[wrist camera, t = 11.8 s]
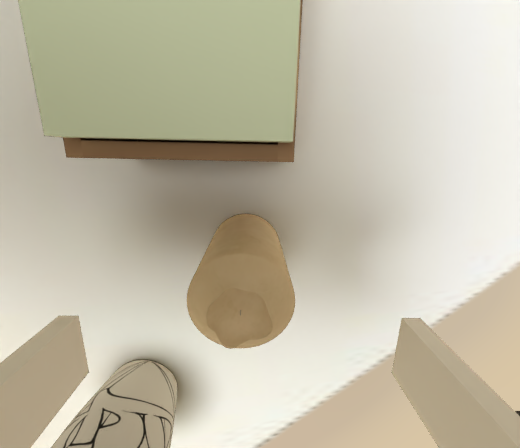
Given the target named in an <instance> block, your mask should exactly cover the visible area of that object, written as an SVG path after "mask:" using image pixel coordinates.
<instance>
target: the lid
mask: <svg viewBox="0 0 520 448" xmlns="http://www.w3.org/2000/svg"><path fill="white" fill-rule="evenodd" d="M300 1H301V0H18V3H19V8H20V13H21V18H22V23H23V28H24V34H25V39H26V44H27V49H28V54H29V59H30V64H31V69H32V75H33V80H34V85H35V90H36V95H37V100H38V105H39V110H40V116H41V121H42V126H43V131H44V136H53V137H65V138H109V139H153V140H197V141H241V142H285V143H290V142H293V133H294V114H295V95H296V76H297V57H298V39H299V20H300Z"/></svg>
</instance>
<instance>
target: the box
mask: <svg viewBox="0 0 520 448" xmlns="http://www.w3.org/2000/svg"><path fill="white" fill-rule="evenodd" d="M301 16H302V0H301V1H300V20H299V39H298V57H297V76H296V95H295V114H294V133H293V142H290V143H285V142H241V141H197V140H153V139H109V138H65V137H63V140H64V146H65V152H66V157H71V158H120V159H169V160H218V161H266V162H294V145H295V127H296V108H297V90H298V72H299V53H300V35H301Z"/></svg>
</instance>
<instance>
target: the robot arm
mask: <svg viewBox="0 0 520 448" xmlns="http://www.w3.org/2000/svg"><path fill="white" fill-rule="evenodd" d="M88 373H89V370H88V365H87V359H86V354H85V349H84V343H83V338H82V333H81V327H80V322H79V316H58V317H57V318H55V319H54V320H53V321H52V322H51V323H49V324H48V325H47V326H46V327H44V328H43V329H42V330H41V331H39V332H38V333H37V334H36V335H35V336H33V337H32V338H31V339H30V340H28V341H27V342H26V343H25V344H23V345H22V346H21V347H20V348H18V349H17V350H16V351H15V352H14V353H12V354H11V355H10V356H9V357H7V358H6V359H5V360H4V361H2V362H1V363H0V448H31V446H32V445H33V444H34V442H35V441H36V440H37V439H38V437H39V436H40V435H41V433H42V432H43V431H44V430H45V428H46V427H47V426H48V424H49V423H50V422H51V420H52V419H53V418H54V417H55V415H56V414H57V413H58V411H59V410H60V409H61V407H62V406H63V405H64V404H65V402H66V401H67V400H68V398H69V397H70V396H71V395H72V393H73V392H74V391H75V389H76V388H77V387H78V385H79V384H80V383H81V382H82V380H83V379H84V378H85V376H86V375H87V374H88ZM392 374H393V376H394V377H395V379H396V380H397V382H398V384H399V385H400V387H401V388H402V390H403V392H404V393H405V395H406V396H407V398H408V399H409V401H410V403H411V404H412V406H413V408H414V409H415V410H416V412H417V414H418V415H419V417H420V419H421V420H422V422H423V423H424V425H425V427H426V428H427V430H428V431H429V433H430V435H431V436H432V438H433V439H434V441H435V443H436V444H437V446H438V447H439V448H520V411H514V410H513V409H512V408H511V407H510V406H509V405H508V404H507V403H506V402H505V401H504V400H503V399H502V398H501V397H500V396H499V395H498V394H497V393H496V392H495V391H494V390H493V389H491V387H490V386H488V385H487V384H486V382H485V381H483V380H482V379H481V378H480V377H479V376H478V375H477V374H476V373H475V372H474V371H473V370H472V369H471V368H470V367H469V366H468V365H467V364H466V363H465V362H464V361H463V360H462V359H461V358H460V357H459V356H458V355H457V354H456V353H455V352H454V351H453V350H452V349H451V348H450V347H449V346H448V345H447V344H446V343H445V342H444V341H443V340H442V339H441V338H440V337H439V336H437V334H436V333H435V332H434V331H433V330H432V329H431V328H430V327H429V326H428V325H427V324H426V323H424V322H423V321H422V320H421V319H420V318H402V320H401V325H400V331H399V336H398V341H397V347H396V352H395V358H394V363H393V368H392Z"/></svg>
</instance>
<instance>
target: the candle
mask: <svg viewBox="0 0 520 448" xmlns="http://www.w3.org/2000/svg"><path fill="white" fill-rule="evenodd" d="M294 307H295V294H294V290H293V286H292V283H291V279H290V276H289V272H288V269H287V265H286V262H285V258H284V255H283V252H282V248H281V245H280V241H279V238H278V235H277V233H276V231H275V229H274V228H273V227H272V226H271V224H269V223H268V222H267V221H266V220H264V219H263V218H261V217H259V216H256V215H252V214H240V215H236V216H233V217H231V218H229V219H227V220H226V221H224V222H223V223H222V224H221V225H220V226H219V227H218V229H217V230H216V232H215V234H214V236H213V238H212V240H211V242H210V244H209V246H208V248H207V250H206V252H205V254H204V256H203V258H202V260H201V262H200V264H199V266H198V269H197V271H196V273H195V275H194V277H193V279H192V281H191V283H190V286H189V289H188V293H187V308H188V312H189V315H190V317H191V320H192V321H193V323H194V325H195V326H196V327H197V329H198V330H199V331H200V332H201V333H202V334H203V335H205V336H206V337H207V338H209V339H210V340H212V341H214V342H216V343H218V344H220V345H223V346H224V347H226V348H250V347H255V346H259V345H262V344H264V343H267V342H269V341H271V340H272V339H274V338H275V337H277V336H278V335H279V334H280V333H281V332H282V331H283V330H284V329H285V328H286V326H287V325H288V323H289V322H290V320H291V318H292V315H293V312H294Z"/></svg>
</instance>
